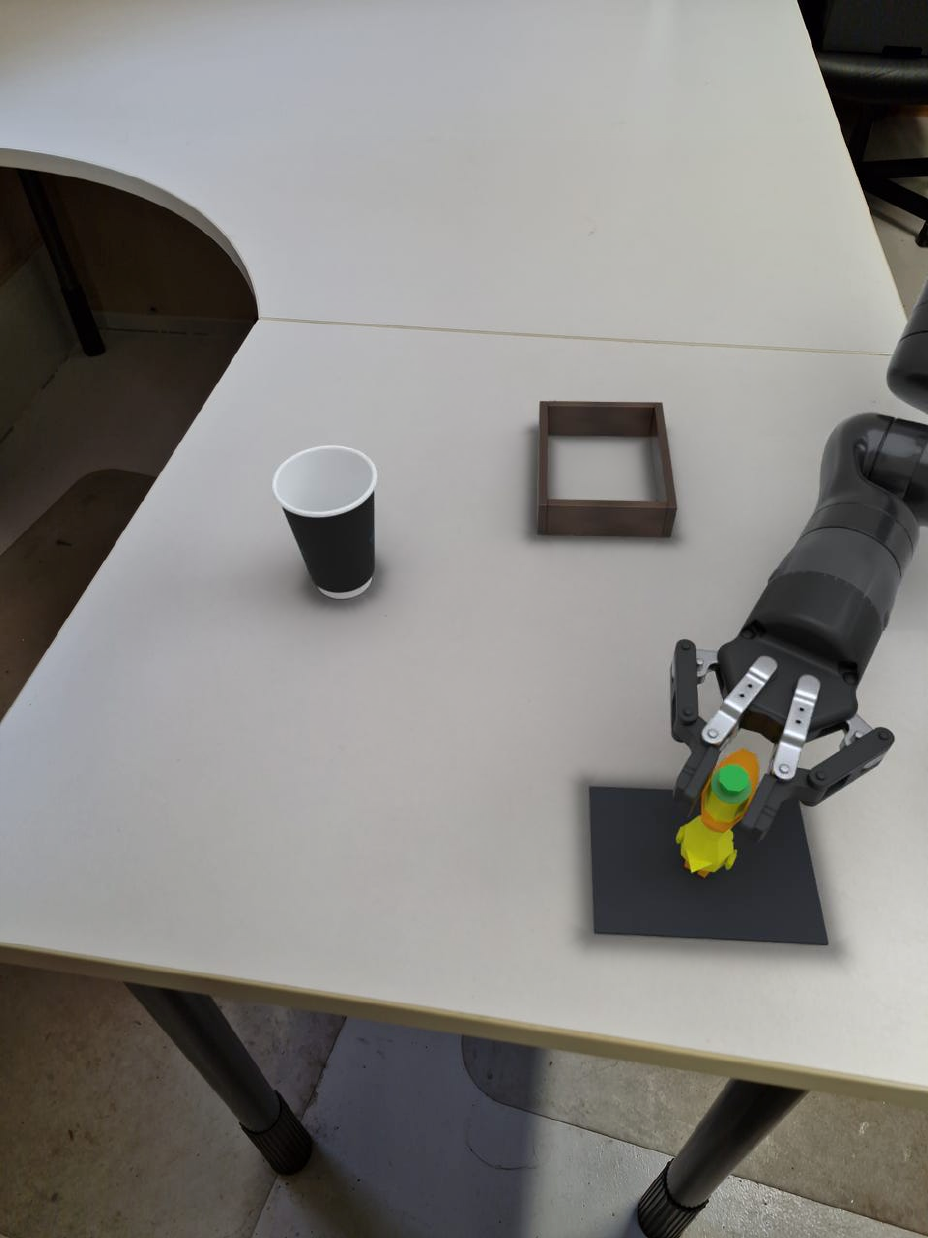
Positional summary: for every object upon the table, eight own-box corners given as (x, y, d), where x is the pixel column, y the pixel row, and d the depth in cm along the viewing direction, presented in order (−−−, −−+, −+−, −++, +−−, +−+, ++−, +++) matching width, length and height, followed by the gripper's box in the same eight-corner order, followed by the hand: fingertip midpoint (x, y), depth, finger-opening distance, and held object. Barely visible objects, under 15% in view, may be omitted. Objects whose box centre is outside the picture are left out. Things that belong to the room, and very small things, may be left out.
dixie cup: (410, 572, 73) (399, 472, 64) (343, 628, 69) (322, 530, 60) (345, 531, 76) (326, 431, 68) (278, 582, 72) (248, 483, 64)
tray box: (657, 431, 84) (662, 401, 81) (671, 537, 74) (677, 507, 72) (538, 430, 84) (539, 400, 82) (536, 534, 75) (538, 504, 72)
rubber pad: (796, 796, 58) (798, 794, 58) (827, 945, 52) (828, 943, 51) (589, 788, 59) (589, 786, 59) (594, 933, 53) (594, 931, 52)
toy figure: (696, 803, 58) (733, 704, 48) (747, 829, 56) (795, 733, 47) (654, 886, 54) (685, 797, 45) (707, 916, 53) (751, 830, 44)
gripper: (911, 694, 55) (819, 919, 46) (707, 607, 60) (590, 793, 51) (959, 621, 49) (865, 861, 40) (729, 531, 55) (601, 726, 46)
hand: (712, 821), depth 46 cm, fingers closed on toy figure, 2 cm apart
